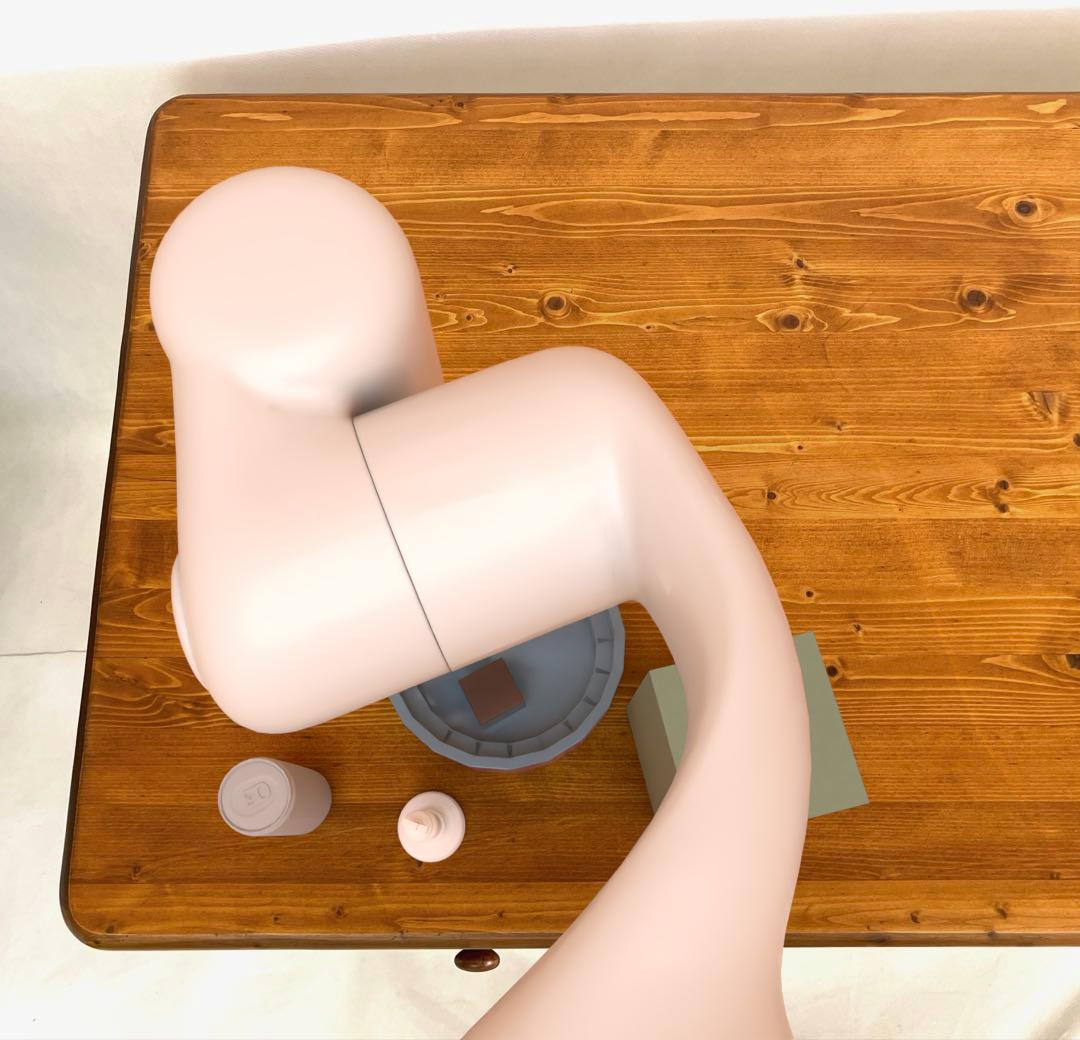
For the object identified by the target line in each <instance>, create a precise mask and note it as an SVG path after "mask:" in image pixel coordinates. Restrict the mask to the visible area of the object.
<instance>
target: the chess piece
mask: <svg viewBox="0 0 1080 1040" xmlns="http://www.w3.org/2000/svg"><path fill="white" fill-rule="evenodd" d="M465 833H466V819H465V815H464V812H463V810H462V808H461V806H460V805H459V802H457V801H456V800H455V799H454V798H453V797H451V796H450V795H448V794H446V793H444V792H441V791H434V790H433V791H425V792H422V793H418V794H417V795H415V796H414V797H412V798H411V799H410V800H409V801H408V802H406V804H405V805H404V807H403V808H402V810H401V812H400V814H399V816H398V821H397V835H398V839H399V842H400V844H401V846H402V848H403V850H405V852H406V853H407V854H408V855H410V856H411V857H412V858H414V859H415V860H418V861H420V862H424V863H436V862H437V863H438V862H440V861H443V860H446V859H447V858H450V856H452V855H453V854H454V853H455V852H456V851H457V850H458V849H459V847H460V845H462V842H463V839H464V836H465Z"/></svg>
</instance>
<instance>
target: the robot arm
mask: <svg viewBox="0 0 1080 1040" xmlns="http://www.w3.org/2000/svg"><path fill="white" fill-rule="evenodd" d="M149 284H150V285H149V307H150V313H151V319H152V323H153V324H152V325H153V327H154V330H155V333H156V336H157V339H158V341H159V343H160V345H161V348H162V350H163V352H164V353H165V354H166V357H167V359H168V361H169V365H170V371H171V372H170V373H171V384H172V399H173V401H172V402H173V420H174V439H175V440H174V441H175V464H176V465H175V466H176V469H175V470H176V517H177V519H176V520H177V521H176V522H177V525H176V526H177V550H178V553H177V554H176V557H175V560H174V562H173V565H172V569H171V574H170V575H171V576H170V587H171V588H170V599H171V607H172V615H173V620H174V624H175V628H176V633H177V636H178V639H179V643H180V646H181V648H182V651H183V654H184V656H185V659H186V661H187V663H188V665H189V667H190V669H191V670H192V673H193V674H194V676H195V678H196V679H197V681H199V683H200V684H201V686H202V687H203V688H204V689H205V690H207V691H208V692H209V695H210V696H211V699H212V700H213V701H214V703H216V705H217V706H218V707H219V709H220V710H221V711H222V712H223V713H224V714H225V715H226V716H227V717H228V718H229V719H230V720H231V721H233V722H234V723H236V724H237V725H239V726H241V727H243V728H245V729H249V730H251V731H252V732H255V733H260V734H261V733H262V734H269V735H271V734H272V735H275V734H276V735H277V734H288V733H294V732H295V733H296V732H299V731H301V730H304V729H308V728H311V727H315V726H318V725H321V724H324V723H326V722H329V721H331V720H334V719H336V718H339V717H341V716H345V715H347V714H350V713H352V712H354V711H357V710H359V709H361V708H365V707H366V706H370V705H372V704H374V703H377V702H379V701H381V700H384V699H386V698H389V696H391V695H394V694H396V693H399V692H401V691H404V690H406V689H409V688H411V687H414V686H416V685H419V684H421V683H423V682H426V681H428V680H431V679H433V678H436V677H438V676H441V675H443V674H446V673H448V672H451V671H452V672H453V671H455V670H457V669H460V668H462V667H465V666H467V665H470V664H472V663H475V662H477V661H480V660H482V659H484V658H487V657H489V656H492V655H494V654H497V653H499V652H502V651H504V650H506V649H509V648H511V647H514V646H516V645H519V644H521V643H524V642H526V641H529V640H531V639H534V638H536V637H539V636H541V635H543V634H546V633H548V632H551V631H553V630H556V629H558V628H561V627H563V626H566V625H568V624H571V623H574V622H576V621H579V620H581V619H584V618H587V617H589V616H592V615H594V614H597V613H599V612H602V611H604V610H606V609H609V608H611V607H614V606H616V605H618V606H619V605H620V604H624V603H625V602H632V601H633V602H636V603H638V604H640V605H641V606H642V607H643V608H644V609H645V610H646V611H647V613H648V614H649V616H650V618H651V619H652V620H653V622H654V624H655V625H656V627H657V629H658V630H659V632H660V634H661V636H662V637H663V639H664V642H665V644H666V646H667V648H668V650H669V652H670V654H671V656H672V658H673V661H674V664H676V667H677V670H678V672H679V675H680V678H681V681H682V683H683V687H684V691H685V696H686V703H687V712H688V726H687V735H686V741H685V747H684V751H683V754H682V758H681V761H680V764H679V767H678V769H677V772H676V774H675V777H674V779H673V782H672V784H671V786H670V788H669V790H668V792H667V794H666V795H665V797H664V799H663V801H662V803H661V805H660V807H659V808H658V810H657V812H656V814H655V816H654V815H653V817H652V818H651V821H650V822H649V824H648V825H647V826H646V828H645V829H644V830H643V832H642V834H641V835H640V837H639V838H638V839H637V840H636V843H635V844H634V845H633V847H632V848H631V850H630V851H629V853H628V854H627V855H626V857H625V858H624V859H623V861H622V862H621V864H620V865H619V866H618V868H617V869H616V870H615V871H614V873H612V875H611V876H610V877H609V879H608V880H607V881H606V883H605V884H604V885H603V886H602V887H601V888H600V890H599V891H598V892H597V893H596V895H595V896H594V897H593V898H592V900H591V901H590V902H589V903H588V905H587V906H586V907H585V908H584V909H583V910H582V911H581V913H580V914H579V915H578V916H577V918H575V920H574V921H573V922H572V923H571V924H570V925H569V926H568V927H567V929H565V931H564V932H563V933H562V934H561V935H560V936H559V937H558V939H557V940H556V941H554V943H552V945H551V946H550V947H549V948H548V949H547V950H546V951H545V952H544V953H543V954H542V955H541V957H540V958H539V959H537V961H536V962H535V963H534V964H532V965H531V967H530V968H529V969H528V970H527V971H526V972H525V973H524V974H523V975H522V976H521V977H520V978H519V979H518V980H517V981H516V982H515V983H514V984H513V985H512V986H511V987H510V988H509V989H508V990H507V991H506V992H505V993H504V994H503V995H502V996H501V997H500V998H499V999H498V1000H497V1001H496V1002H495V1003H494V1005H492V1006H491V1007H490V1008H489V1010H487V1011H486V1012H485V1013H484V1014H483V1015H482V1016H481V1017H480V1018H479V1019H478V1020H477V1021H476V1022H475V1023H474V1024H473V1025H472V1026H471V1027H470V1028H469V1029H468V1030H467V1032H465V1033H464V1035H463V1036H462V1037H461V1038H460V1039H459V1040H795V1037H794V1034H793V1031H792V1029H791V1025H790V1022H789V1018H788V1016H787V1011H786V1005H785V1000H784V995H783V985H782V983H783V982H782V966H783V965H782V963H783V954H784V945H785V940H786V939H785V938H786V931H787V927H788V922H789V917H790V914H791V909H792V905H793V900H794V896H795V891H796V887H797V882H798V877H799V874H800V867H801V863H802V857H803V852H804V846H805V841H806V836H807V835H806V834H807V829H808V822H809V821H808V820H809V819H808V810H809V798H810V780H811V750H810V728H809V715H808V709H807V703H806V697H805V691H804V685H803V679H802V673H801V668H800V664H799V660H798V656H797V653H796V649H795V645H794V641H793V637H792V636H793V634H792V631H791V626H790V623H789V621H788V617H787V614H786V612H785V610H784V606H783V604H782V602H781V599H780V595H779V593H778V591H777V587H776V585H775V582H774V581H773V578H772V576H771V573H770V572H769V570H768V567H767V565H766V563H765V561H764V558H763V556H762V553H761V552H760V549H759V548H758V546H757V545H756V542H755V541H754V539H753V537H752V536H751V534H750V533H749V531H748V529H747V527H746V525H745V524H744V522H743V521H742V519H741V517H740V515H739V514H738V512H737V511H736V509H735V508H734V506H733V505H732V503H731V502H730V500H729V499H728V497H727V495H726V494H725V493H724V491H723V490H722V488H721V486H720V485H719V483H718V482H717V480H716V479H715V478H714V476H713V475H712V473H711V471H710V470H709V468H708V467H707V465H706V463H705V462H704V460H703V459H702V456H700V454H699V452H698V451H697V449H696V447H695V446H694V445H693V443H692V441H691V440H690V438H689V436H688V435H687V434H686V432H685V431H684V430H683V428H682V426H681V425H680V424H679V422H678V421H677V420H676V418H675V416H674V415H673V413H672V412H671V410H670V409H669V408H668V406H667V405H666V404H665V403H664V401H663V400H662V399H661V398H660V396H659V395H658V394H657V393H656V391H655V390H654V389H653V387H651V385H650V384H649V383H648V382H647V381H646V380H645V379H644V378H643V377H642V376H641V374H639V373H638V372H637V371H636V370H635V369H634V368H632V366H630V365H629V364H627V363H626V362H625V361H623V360H621V359H620V358H619V357H616V356H615V355H613V354H611V353H610V352H607V351H604V350H601V349H599V348H594V347H590V346H589V347H588V346H583V345H564V346H555V347H549V348H545V349H540V350H538V351H534V352H530V353H528V354H525V355H521V356H518V357H515V358H512V359H509V360H506V361H503V362H499V363H497V364H495V365H492V366H488V367H487V368H486V367H485V368H484V369H483V368H482V369H481V370H478V371H475V372H472V373H470V374H466V375H464V376H462V377H461V376H460V377H458V378H456V379H453V380H450V381H447V382H445V378H444V373H443V369H442V365H441V360H440V356H439V352H438V348H437V343H436V338H435V335H434V330H433V326H432V321H431V317H430V312H429V308H428V304H427V299H426V296H425V290H424V287H423V282H422V277H421V273H420V270H419V267H418V263H417V260H416V257H415V255H414V252H413V248H412V246H411V244H410V241H409V239H408V237H407V235H406V234H405V232H404V229H403V228H402V227H401V225H400V224H399V222H398V221H397V220H396V219H395V218H394V216H393V215H392V214H391V212H390V211H389V210H388V209H387V207H386V206H385V205H384V204H382V202H380V201H379V200H378V199H377V198H376V197H375V196H374V195H373V194H371V193H370V192H368V191H367V190H366V189H364V188H362V187H361V186H359V185H358V184H356V183H355V182H354V181H351V180H349V179H347V178H345V177H342V176H339V174H336V173H332V172H329V171H324V170H321V169H317V168H312V167H305V166H296V165H280V166H279V165H278V166H266V167H261V168H255V169H250V170H247V171H245V172H242V173H241V172H240V173H238V174H235V175H232V176H230V177H228V178H226V179H224V180H222V181H220V182H218V183H216V184H214V185H212V186H210V187H209V188H208V189H206V190H205V191H203V192H202V193H201V194H200V195H198V196H197V197H195V198H194V199H192V201H190V203H189V204H187V206H185V208H184V209H183V210H181V212H179V214H178V215H177V216H176V218H175V219H174V220H173V222H172V223H171V225H170V227H169V228H168V230H167V231H166V233H165V234H164V236H163V237H162V239H161V241H160V244H159V246H158V248H157V251H156V252H155V255H154V258H153V263H152V267H151V271H150V279H149Z"/></svg>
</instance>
